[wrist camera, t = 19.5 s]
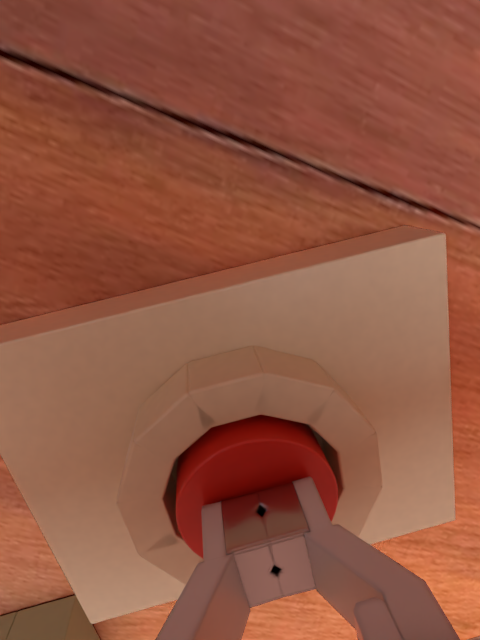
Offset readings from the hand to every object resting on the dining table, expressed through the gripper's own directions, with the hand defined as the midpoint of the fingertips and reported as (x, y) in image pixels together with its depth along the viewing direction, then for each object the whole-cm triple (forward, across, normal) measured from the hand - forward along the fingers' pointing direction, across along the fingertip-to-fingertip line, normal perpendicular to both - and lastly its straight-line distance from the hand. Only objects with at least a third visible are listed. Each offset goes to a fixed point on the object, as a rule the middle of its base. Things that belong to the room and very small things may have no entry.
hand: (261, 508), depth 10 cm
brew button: (+2, 0, 0) cm, 2 cm away
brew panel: (+5, 0, 0) cm, 5 cm away
